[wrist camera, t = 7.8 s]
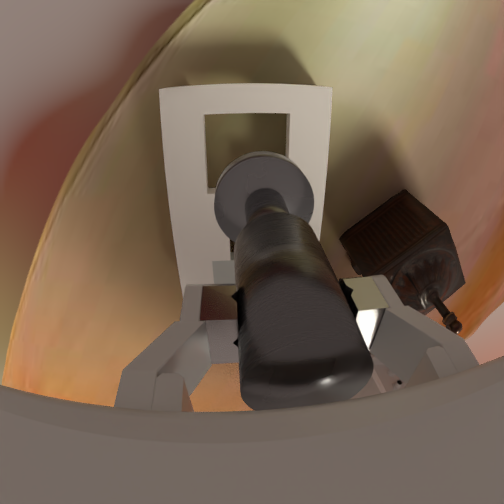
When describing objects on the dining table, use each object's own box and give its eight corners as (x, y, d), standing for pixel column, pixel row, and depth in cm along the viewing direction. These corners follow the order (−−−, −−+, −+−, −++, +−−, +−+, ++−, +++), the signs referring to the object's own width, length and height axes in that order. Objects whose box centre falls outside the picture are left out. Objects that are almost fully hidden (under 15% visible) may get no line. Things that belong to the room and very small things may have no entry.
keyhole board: (316, 85, 26) (332, 87, 22) (302, 272, 38) (311, 298, 34) (170, 87, 25) (158, 88, 21) (188, 276, 37) (184, 304, 33)
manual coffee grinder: (332, 239, 36) (393, 358, 21) (405, 186, 33) (504, 275, 17) (381, 307, 43) (430, 407, 28) (440, 265, 40) (506, 353, 24)
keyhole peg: (310, 151, 15) (437, 297, 5) (304, 235, 18) (373, 416, 8) (213, 152, 15) (185, 317, 5) (217, 238, 18) (212, 434, 8)
